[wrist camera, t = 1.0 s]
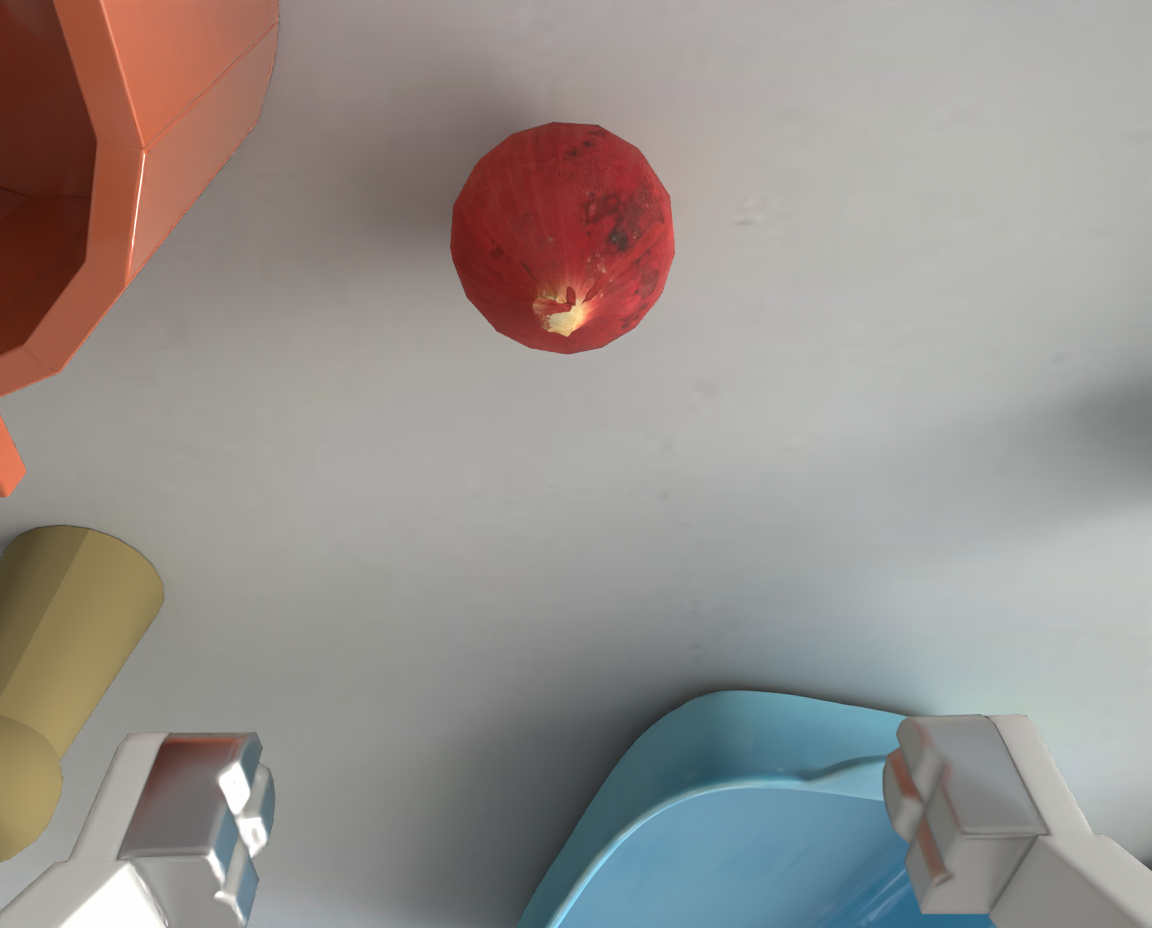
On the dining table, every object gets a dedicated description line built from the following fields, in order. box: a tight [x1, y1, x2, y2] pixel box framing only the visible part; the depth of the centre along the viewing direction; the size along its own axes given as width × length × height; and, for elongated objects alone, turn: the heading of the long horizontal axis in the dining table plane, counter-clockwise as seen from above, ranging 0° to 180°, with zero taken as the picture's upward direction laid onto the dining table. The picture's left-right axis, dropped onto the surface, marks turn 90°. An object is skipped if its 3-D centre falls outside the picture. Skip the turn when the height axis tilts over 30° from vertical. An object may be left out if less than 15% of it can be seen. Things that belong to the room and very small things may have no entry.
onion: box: [450, 122, 675, 354], centre depth 23 cm, size 6×6×8 cm
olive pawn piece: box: [0, 525, 164, 862], centre depth 31 cm, size 6×6×11 cm
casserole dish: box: [516, 691, 997, 928], centre depth 47 cm, size 37×22×7 cm, turn 162°
